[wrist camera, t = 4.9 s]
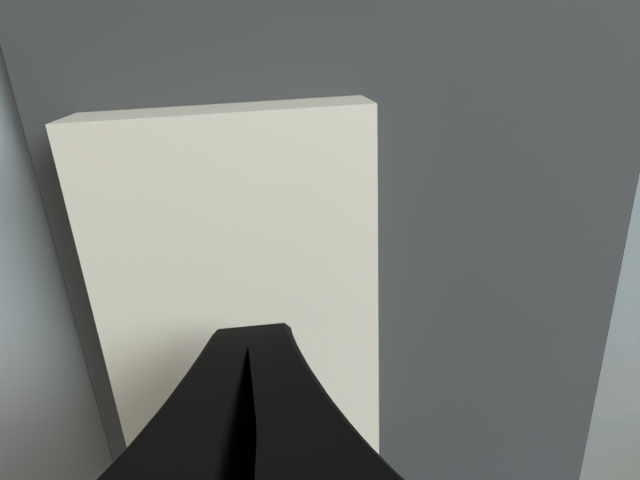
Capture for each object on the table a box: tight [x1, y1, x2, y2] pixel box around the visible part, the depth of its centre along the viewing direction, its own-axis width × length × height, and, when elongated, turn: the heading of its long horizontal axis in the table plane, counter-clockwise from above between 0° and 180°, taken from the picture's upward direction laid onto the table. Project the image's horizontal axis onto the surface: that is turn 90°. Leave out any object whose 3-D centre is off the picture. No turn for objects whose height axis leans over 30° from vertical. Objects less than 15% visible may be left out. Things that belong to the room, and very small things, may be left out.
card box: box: [45, 95, 379, 454], centre depth 12 cm, size 9×2×6 cm
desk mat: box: [0, 0, 640, 480], centre depth 13 cm, size 16×14×1 cm
